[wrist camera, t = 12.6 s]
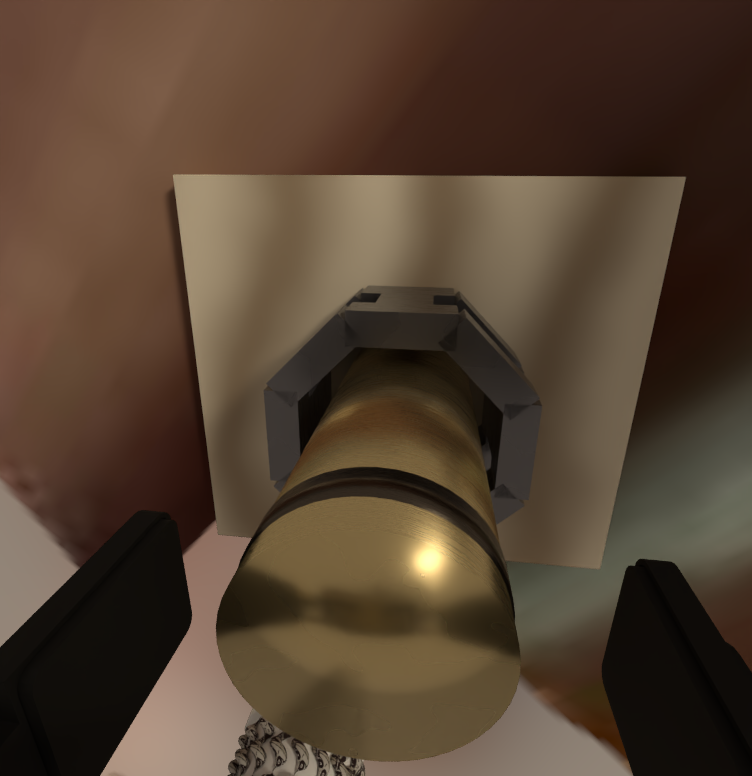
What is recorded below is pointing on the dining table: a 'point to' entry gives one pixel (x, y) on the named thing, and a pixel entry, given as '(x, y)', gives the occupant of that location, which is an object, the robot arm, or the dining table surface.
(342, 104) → the dining table surface
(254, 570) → the gold cylinder
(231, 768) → the decorative candle
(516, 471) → the ring
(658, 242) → the board
